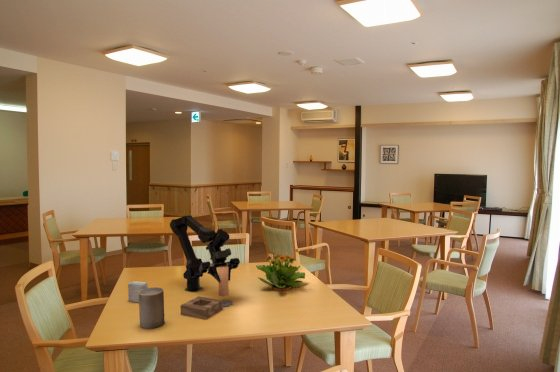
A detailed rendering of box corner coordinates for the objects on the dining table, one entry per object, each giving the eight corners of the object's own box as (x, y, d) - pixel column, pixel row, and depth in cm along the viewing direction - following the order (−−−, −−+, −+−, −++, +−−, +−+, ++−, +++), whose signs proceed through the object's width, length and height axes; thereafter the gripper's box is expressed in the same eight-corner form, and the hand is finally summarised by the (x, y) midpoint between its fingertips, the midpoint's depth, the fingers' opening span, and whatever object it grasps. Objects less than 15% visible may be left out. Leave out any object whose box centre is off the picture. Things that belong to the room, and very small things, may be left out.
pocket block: (198, 304, 184) (198, 296, 183) (222, 309, 178) (222, 300, 178) (180, 314, 172) (180, 305, 172) (205, 319, 166) (205, 310, 166)
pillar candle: (167, 319, 167) (166, 283, 166) (161, 328, 157) (159, 291, 156) (143, 319, 167) (142, 284, 166) (136, 329, 157) (134, 291, 156)
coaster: (221, 300, 190) (221, 298, 190) (235, 302, 186) (235, 300, 186) (211, 305, 183) (211, 303, 182) (226, 308, 179) (226, 306, 179)
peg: (222, 292, 187) (222, 265, 186) (230, 293, 185) (230, 266, 184) (216, 295, 183) (216, 267, 182) (225, 296, 181) (224, 268, 180)
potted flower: (298, 298, 192) (298, 262, 191) (251, 294, 197) (251, 260, 196) (305, 282, 217) (306, 251, 216) (263, 280, 222) (263, 249, 221)
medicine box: (148, 300, 190) (148, 282, 189) (142, 303, 186) (142, 285, 185) (134, 298, 192) (133, 280, 191) (128, 301, 188) (127, 283, 187)
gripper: (200, 245, 181) (209, 275, 173) (238, 241, 191) (248, 269, 182) (195, 258, 189) (203, 287, 180) (232, 254, 198) (241, 281, 189)
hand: (224, 281), depth 183 cm, fingers closed on peg, 4 cm apart
